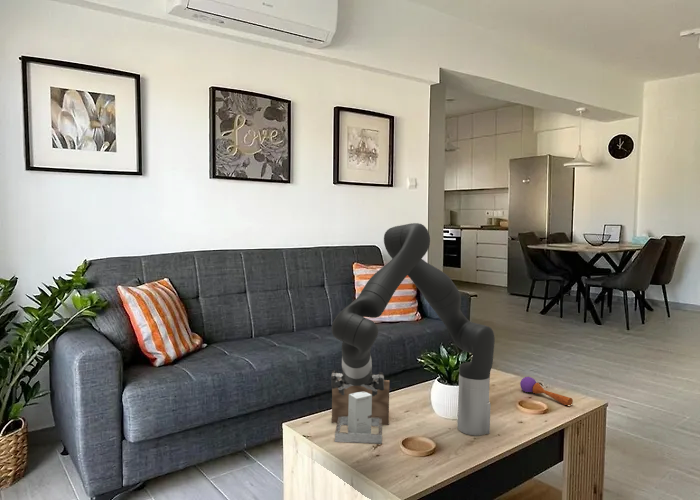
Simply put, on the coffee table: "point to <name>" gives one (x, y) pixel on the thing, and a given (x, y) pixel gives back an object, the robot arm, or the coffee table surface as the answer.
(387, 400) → the wall board
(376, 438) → the grey rectangular frame
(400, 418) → the coffee table surface
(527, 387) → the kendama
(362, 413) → the skincare box
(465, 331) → the robot arm
